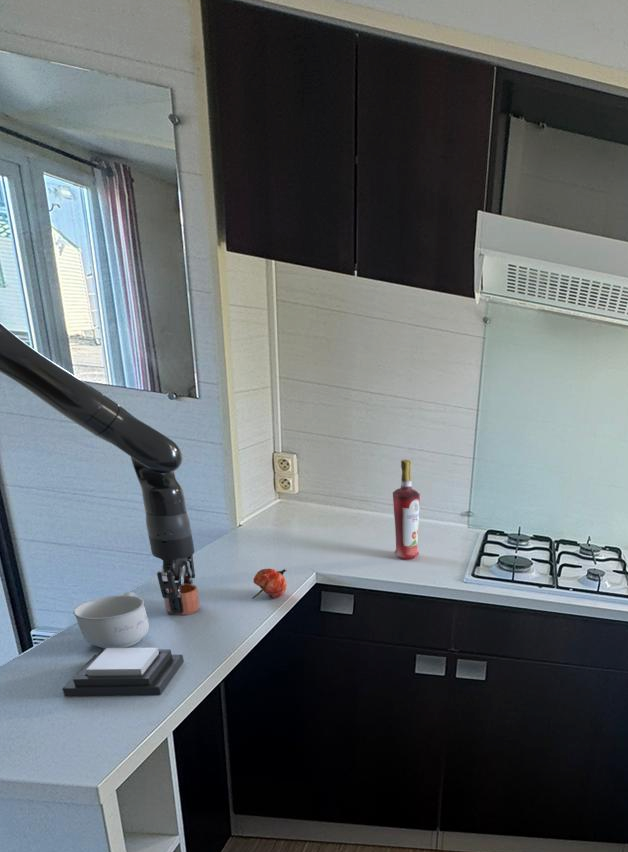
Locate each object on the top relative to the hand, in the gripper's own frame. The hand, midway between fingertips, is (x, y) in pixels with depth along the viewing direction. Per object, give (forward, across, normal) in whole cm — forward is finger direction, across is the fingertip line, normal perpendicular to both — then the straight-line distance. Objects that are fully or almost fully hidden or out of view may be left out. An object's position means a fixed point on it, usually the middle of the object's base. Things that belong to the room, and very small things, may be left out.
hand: (183, 606), depth 137 cm
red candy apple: (+1, -8, +16) cm, 18 cm away
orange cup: (+1, 0, 0) cm, 1 cm away
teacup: (+1, +14, -6) cm, 16 cm away
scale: (+1, +30, 0) cm, 30 cm away
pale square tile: (-2, +30, 0) cm, 30 cm away
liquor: (+1, -40, +46) cm, 61 cm away
